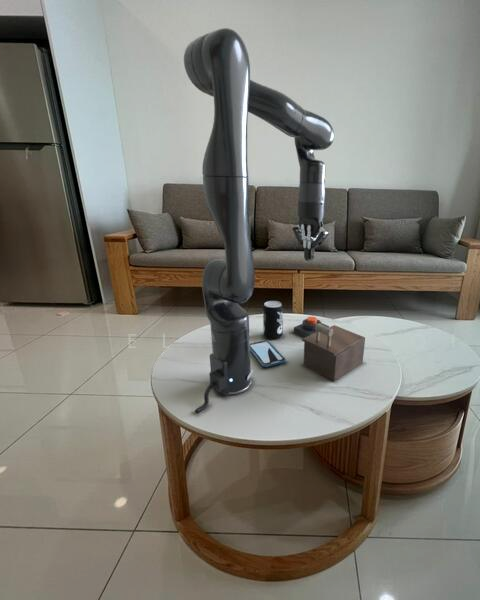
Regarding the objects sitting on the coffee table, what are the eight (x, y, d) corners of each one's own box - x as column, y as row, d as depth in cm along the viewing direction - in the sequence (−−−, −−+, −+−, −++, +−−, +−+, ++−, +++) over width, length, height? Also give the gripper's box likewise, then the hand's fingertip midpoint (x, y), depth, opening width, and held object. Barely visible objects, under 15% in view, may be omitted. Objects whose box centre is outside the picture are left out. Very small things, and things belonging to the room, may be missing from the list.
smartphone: (267, 339, 107) (286, 360, 95) (267, 342, 107) (286, 362, 95) (246, 344, 104) (263, 365, 91) (246, 346, 104) (263, 368, 92)
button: (312, 326, 111) (312, 321, 111) (304, 322, 114) (304, 318, 113) (318, 323, 114) (319, 318, 113) (311, 320, 116) (311, 315, 116)
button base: (310, 340, 109) (310, 329, 108) (293, 332, 114) (293, 322, 113) (328, 331, 116) (329, 321, 115) (312, 324, 121) (312, 314, 120)
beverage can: (273, 342, 107) (273, 309, 103) (259, 336, 111) (258, 304, 107) (286, 335, 112) (286, 303, 108) (272, 330, 116) (272, 299, 112)
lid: (334, 356, 84) (335, 336, 82) (302, 341, 91) (302, 322, 89) (365, 339, 94) (367, 321, 92) (334, 327, 101) (335, 310, 99)
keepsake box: (334, 381, 87) (336, 356, 84) (303, 365, 94) (304, 341, 92) (362, 363, 96) (365, 340, 94) (332, 349, 104) (334, 327, 101)
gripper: (285, 199, 92) (284, 258, 98) (320, 201, 84) (317, 266, 90) (303, 198, 98) (301, 255, 104) (338, 201, 89) (333, 262, 95)
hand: (309, 260), depth 97 cm, fingers closed
